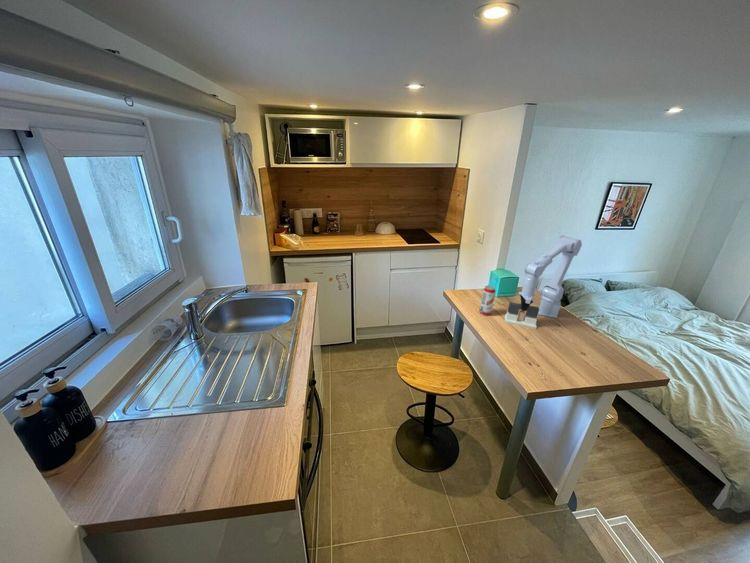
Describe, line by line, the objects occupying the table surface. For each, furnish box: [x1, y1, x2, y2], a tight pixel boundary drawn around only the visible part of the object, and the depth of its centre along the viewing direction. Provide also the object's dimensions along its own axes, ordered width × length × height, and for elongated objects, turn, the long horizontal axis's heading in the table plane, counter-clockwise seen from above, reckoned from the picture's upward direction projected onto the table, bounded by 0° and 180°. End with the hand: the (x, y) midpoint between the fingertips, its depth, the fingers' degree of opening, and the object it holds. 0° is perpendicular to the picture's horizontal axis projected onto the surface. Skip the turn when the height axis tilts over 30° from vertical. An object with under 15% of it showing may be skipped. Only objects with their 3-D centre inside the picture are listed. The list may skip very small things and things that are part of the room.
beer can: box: [479, 285, 496, 316], centre depth 159 cm, size 6×6×16 cm
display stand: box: [504, 309, 537, 330], centre depth 153 cm, size 15×8×6 cm, turn 69°
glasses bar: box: [507, 301, 539, 319], centre depth 151 cm, size 14×2×5 cm, turn 69°
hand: (523, 309), depth 151 cm, fingers closed on glasses bar, 2 cm apart
